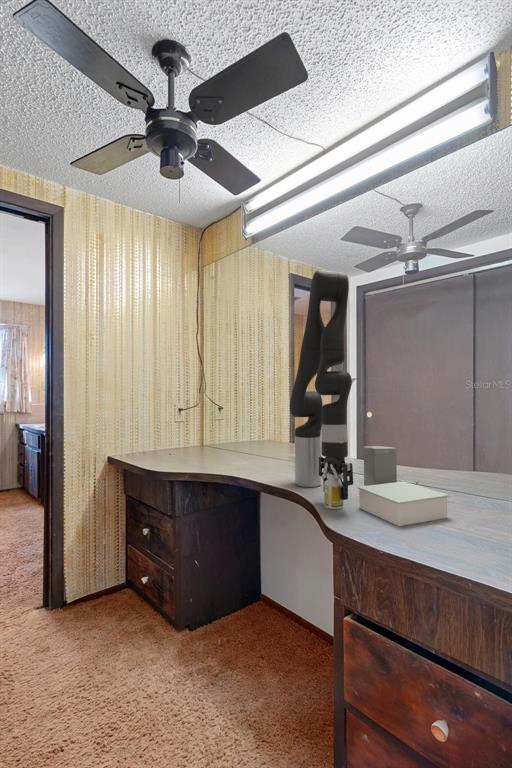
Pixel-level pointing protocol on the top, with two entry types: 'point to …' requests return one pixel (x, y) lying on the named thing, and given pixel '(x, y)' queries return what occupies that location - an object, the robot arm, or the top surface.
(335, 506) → the supplement bottle
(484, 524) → the top surface
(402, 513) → the podium
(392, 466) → the skincare box
